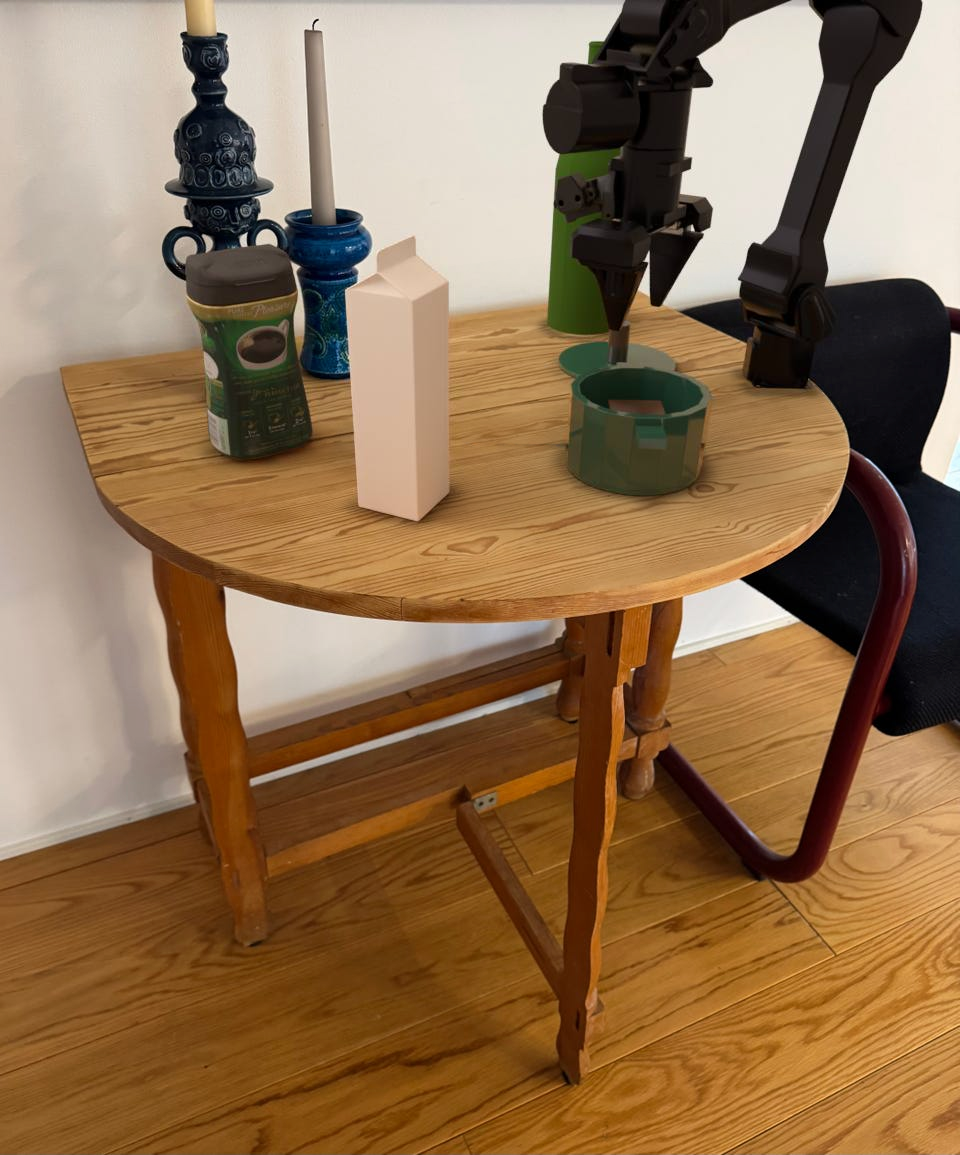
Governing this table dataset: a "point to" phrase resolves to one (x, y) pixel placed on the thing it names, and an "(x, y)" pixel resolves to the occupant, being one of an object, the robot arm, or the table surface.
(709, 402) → the tin
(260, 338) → the coffee jar
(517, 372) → the table surface
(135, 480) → the table surface
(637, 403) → the block
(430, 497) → the milk
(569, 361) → the lid
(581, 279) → the wine bottle
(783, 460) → the table surface
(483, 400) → the table surface
